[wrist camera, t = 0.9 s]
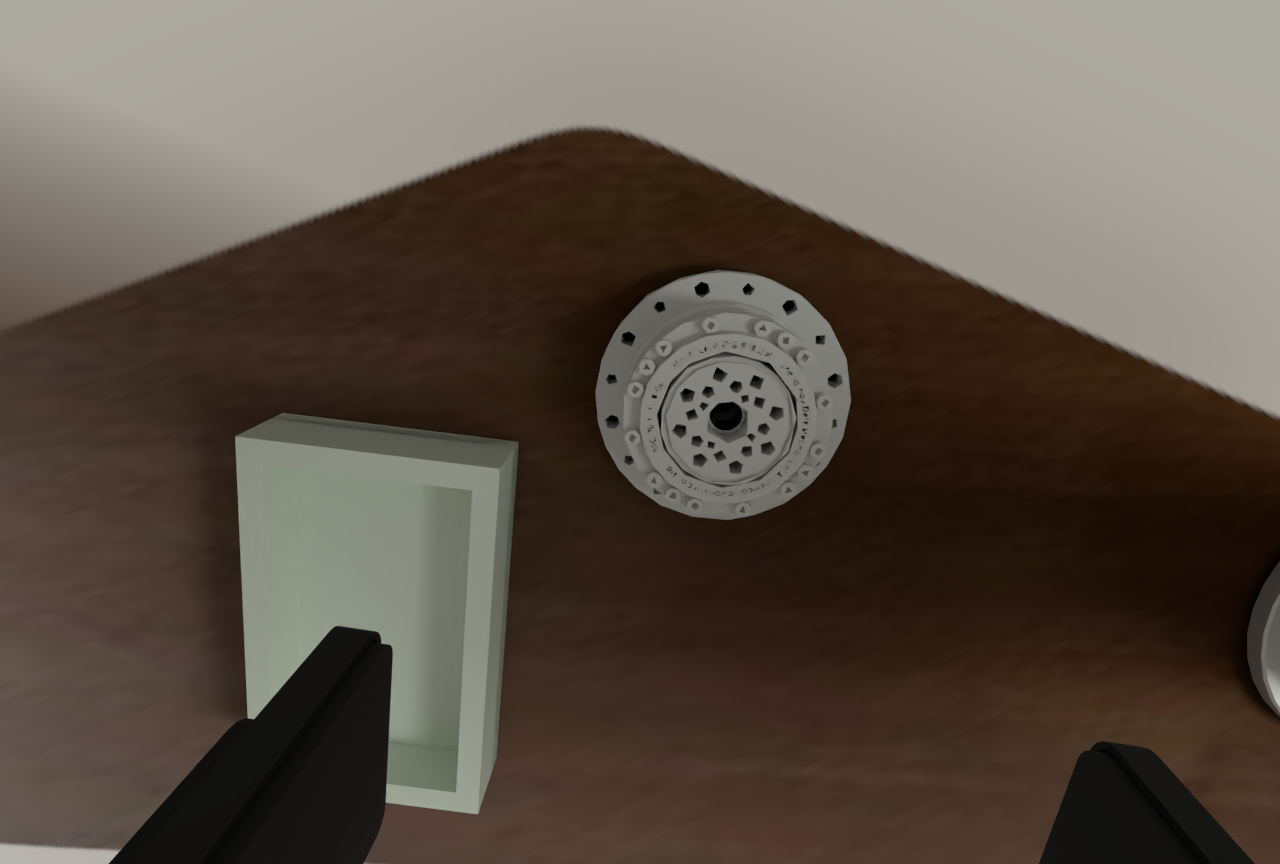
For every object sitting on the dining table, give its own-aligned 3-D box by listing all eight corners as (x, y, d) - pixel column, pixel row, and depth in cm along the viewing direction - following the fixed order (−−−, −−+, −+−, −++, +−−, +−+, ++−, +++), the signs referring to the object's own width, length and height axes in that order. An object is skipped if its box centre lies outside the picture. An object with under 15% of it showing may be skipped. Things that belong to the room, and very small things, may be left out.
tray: (518, 441, 30) (499, 468, 27) (496, 757, 35) (477, 814, 32) (283, 412, 30) (235, 436, 27) (291, 731, 35) (250, 785, 32)
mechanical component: (893, 360, 29) (689, 217, 28) (931, 384, 25) (692, 217, 24) (747, 548, 32) (553, 424, 30) (758, 598, 27) (534, 457, 26)
